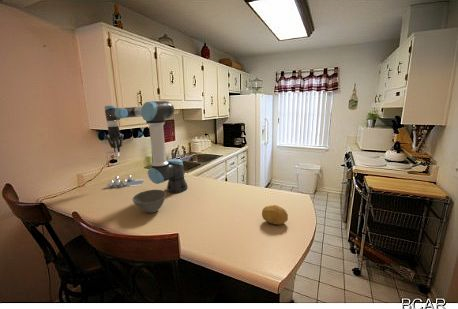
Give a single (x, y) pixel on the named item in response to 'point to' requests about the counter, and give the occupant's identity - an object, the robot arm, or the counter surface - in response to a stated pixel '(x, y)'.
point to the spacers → (119, 181)
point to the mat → (129, 183)
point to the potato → (274, 214)
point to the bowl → (149, 200)
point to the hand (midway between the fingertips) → (118, 156)
